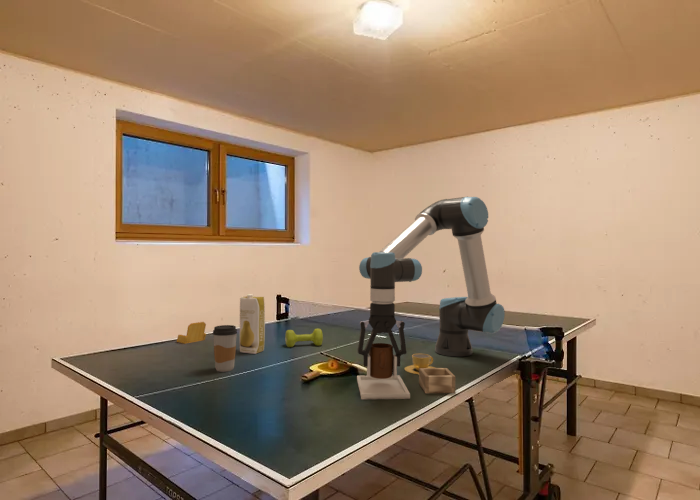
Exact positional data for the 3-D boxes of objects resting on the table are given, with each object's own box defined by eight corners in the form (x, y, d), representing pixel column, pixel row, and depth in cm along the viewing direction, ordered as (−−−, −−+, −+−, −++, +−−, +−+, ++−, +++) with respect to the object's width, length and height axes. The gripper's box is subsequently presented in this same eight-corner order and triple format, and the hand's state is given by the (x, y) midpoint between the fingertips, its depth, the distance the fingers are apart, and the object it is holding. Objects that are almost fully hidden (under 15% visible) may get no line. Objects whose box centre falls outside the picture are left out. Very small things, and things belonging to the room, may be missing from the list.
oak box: (446, 383, 137) (446, 368, 137) (455, 393, 128) (455, 376, 128) (418, 383, 136) (419, 368, 136) (425, 393, 127) (425, 376, 127)
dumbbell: (320, 343, 196) (320, 327, 196) (324, 346, 188) (324, 330, 188) (284, 344, 192) (284, 328, 192) (286, 348, 184) (286, 332, 184)
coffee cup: (241, 367, 154) (241, 325, 154) (227, 373, 146) (228, 329, 146) (221, 365, 157) (222, 324, 157) (207, 371, 149) (207, 328, 149)
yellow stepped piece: (196, 338, 204) (196, 319, 204) (207, 341, 199) (208, 321, 199) (175, 342, 196) (175, 321, 196) (187, 344, 190) (187, 324, 190)
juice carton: (236, 352, 176) (237, 294, 176) (248, 348, 183) (248, 292, 183) (256, 355, 172) (256, 295, 172) (266, 350, 179) (267, 293, 180)
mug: (396, 383, 125) (396, 351, 125) (370, 383, 125) (370, 351, 125) (391, 372, 137) (391, 342, 137) (367, 372, 137) (368, 342, 137)
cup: (416, 377, 144) (416, 361, 144) (398, 368, 155) (398, 353, 155) (445, 373, 149) (445, 357, 149) (425, 364, 160) (425, 350, 160)
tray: (399, 379, 140) (399, 375, 140) (410, 398, 122) (410, 393, 122) (357, 380, 140) (357, 375, 140) (361, 399, 122) (361, 394, 122)
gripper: (412, 301, 135) (412, 373, 135) (348, 300, 134) (347, 373, 134) (417, 303, 128) (417, 380, 128) (349, 303, 127) (349, 380, 127)
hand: (381, 376), depth 131 cm, fingers closed on mug, 7 cm apart
